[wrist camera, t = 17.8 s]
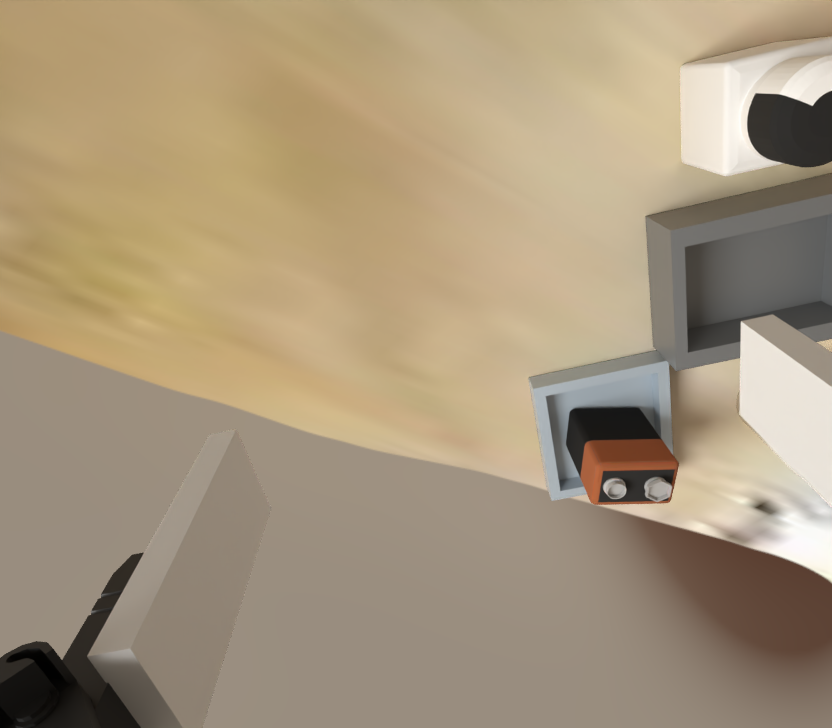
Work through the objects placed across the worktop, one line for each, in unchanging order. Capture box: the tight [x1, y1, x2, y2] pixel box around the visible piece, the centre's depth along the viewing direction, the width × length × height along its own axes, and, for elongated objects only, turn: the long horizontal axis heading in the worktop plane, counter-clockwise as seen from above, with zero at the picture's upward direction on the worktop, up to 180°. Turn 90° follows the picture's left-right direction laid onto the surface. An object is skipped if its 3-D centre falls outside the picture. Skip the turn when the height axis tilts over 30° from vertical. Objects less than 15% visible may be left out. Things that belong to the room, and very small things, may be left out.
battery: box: [566, 408, 679, 505], centre depth 51 cm, size 4×7×10 cm, turn 91°
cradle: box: [646, 173, 832, 371], centre depth 47 cm, size 12×15×5 cm
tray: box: [529, 350, 673, 501], centre depth 55 cm, size 13×12×2 cm
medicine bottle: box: [680, 36, 832, 176], centre depth 39 cm, size 7×7×12 cm
